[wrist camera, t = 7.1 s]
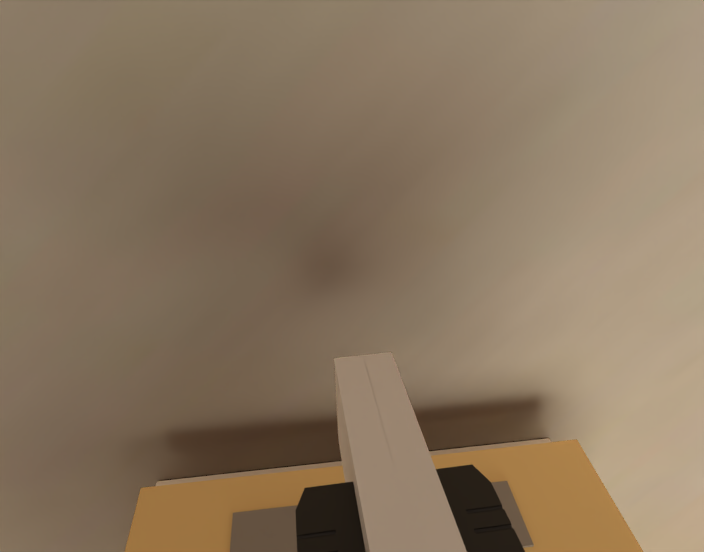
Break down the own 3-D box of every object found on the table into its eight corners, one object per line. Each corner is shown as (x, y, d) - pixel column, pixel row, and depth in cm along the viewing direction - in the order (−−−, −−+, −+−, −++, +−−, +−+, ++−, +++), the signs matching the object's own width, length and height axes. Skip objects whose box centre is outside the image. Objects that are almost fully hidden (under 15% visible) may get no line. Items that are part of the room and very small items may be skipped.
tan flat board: (103, 700, 15) (90, 682, 14) (148, 506, 20) (140, 486, 19) (659, 618, 16) (673, 598, 15) (570, 458, 21) (577, 437, 20)
